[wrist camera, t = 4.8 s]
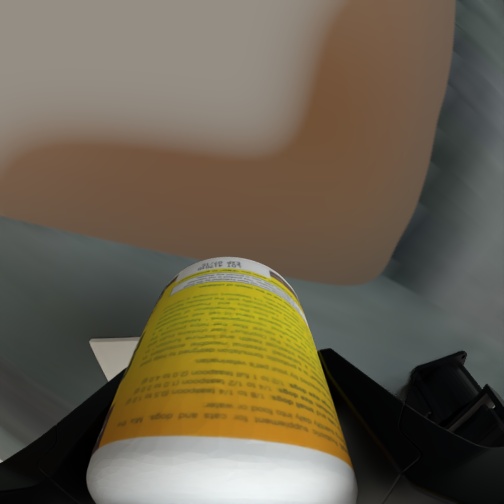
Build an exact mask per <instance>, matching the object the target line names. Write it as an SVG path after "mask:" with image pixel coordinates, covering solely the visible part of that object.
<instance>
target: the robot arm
mask: <svg viewBox="0 0 504 504" xmlns="http://www.w3.org/2000/svg"><path fill="white" fill-rule="evenodd" d="M317 353H318V356H319V359H320V362H321V366H322V369H323V372H324V375H325V378H326V381H327V385H328V388H329V391H330V394H331V397H332V400H333V403H334V407H335V410H336V413H337V416H338V420H339V423H340V426H341V429H342V432H343V436H344V439H345V442H346V445H347V448H348V452H349V455H350V458H351V462H352V465H353V468H354V471H355V476H356V480H357V485H358V496H357V502H356V503H357V504H504V401H503V399H502V398H501V397H500V396H499V395H498V393H496V392H495V391H494V390H493V389H492V388H491V387H490V386H489V385H488V384H486V385H485V386H484V387H483V389H481V387H480V386H479V385H478V383H477V382H476V381H475V380H474V378H473V377H472V376H471V374H470V373H469V372H468V371H467V370H466V368H465V367H464V366H463V365H464V362H465V359H466V356H467V353H466V352H465V351H462V352H459V353H456V354H454V355H451V356H448V357H446V358H443V359H440V360H437V361H434V362H431V363H428V364H425V365H422V366H419V367H418V368H417V369H416V370H415V373H414V376H413V380H412V383H411V387H410V389H409V393H408V396H407V399H406V402H405V405H404V402H402V401H401V400H399V399H398V398H397V397H395V396H394V395H393V394H391V393H390V392H389V391H387V390H386V389H384V388H383V387H382V386H380V385H379V384H378V383H376V382H375V381H374V380H372V379H371V378H370V377H368V376H367V375H366V374H364V373H363V372H362V371H360V370H359V369H358V368H356V367H355V366H354V365H352V364H351V363H350V362H348V361H347V360H346V359H344V358H343V357H342V356H340V355H339V354H338V353H336V352H335V351H334V350H333V349H331V348H327V349H321V350H318V352H317ZM126 369H127V367H126V368H125V369H123V370H122V371H121V372H120V373H118V374H117V375H116V376H115V377H114V378H112V379H111V380H110V381H109V382H107V383H106V384H105V385H104V386H103V387H101V388H100V389H99V390H98V391H97V392H95V393H94V394H93V395H92V396H90V397H89V398H88V399H87V400H86V401H84V402H83V403H82V404H81V405H79V406H78V407H77V408H76V409H74V410H73V411H72V412H71V413H70V414H68V415H67V416H66V417H65V418H63V419H62V420H61V421H60V422H58V423H57V426H56V425H55V426H53V427H52V428H51V429H50V430H49V431H47V432H46V433H45V434H43V435H42V436H41V437H39V438H38V439H37V440H35V441H34V442H32V443H31V444H30V445H28V446H27V447H25V448H24V449H22V450H20V451H19V452H17V453H16V454H14V455H13V456H11V457H10V458H8V459H6V460H5V461H3V462H1V463H0V504H96V503H95V501H94V500H93V498H92V496H91V494H90V492H89V490H88V486H87V481H86V476H87V469H88V466H89V463H90V459H91V455H92V451H93V448H94V446H95V444H96V442H97V440H98V437H99V435H100V432H101V430H102V427H103V425H104V421H105V418H106V416H107V414H108V412H109V410H110V407H111V405H112V402H113V400H114V398H115V395H116V393H117V390H118V387H119V385H120V383H121V380H122V378H123V376H124V373H125V371H126ZM494 405H495V407H494V408H492V407H493V406H494Z"/></svg>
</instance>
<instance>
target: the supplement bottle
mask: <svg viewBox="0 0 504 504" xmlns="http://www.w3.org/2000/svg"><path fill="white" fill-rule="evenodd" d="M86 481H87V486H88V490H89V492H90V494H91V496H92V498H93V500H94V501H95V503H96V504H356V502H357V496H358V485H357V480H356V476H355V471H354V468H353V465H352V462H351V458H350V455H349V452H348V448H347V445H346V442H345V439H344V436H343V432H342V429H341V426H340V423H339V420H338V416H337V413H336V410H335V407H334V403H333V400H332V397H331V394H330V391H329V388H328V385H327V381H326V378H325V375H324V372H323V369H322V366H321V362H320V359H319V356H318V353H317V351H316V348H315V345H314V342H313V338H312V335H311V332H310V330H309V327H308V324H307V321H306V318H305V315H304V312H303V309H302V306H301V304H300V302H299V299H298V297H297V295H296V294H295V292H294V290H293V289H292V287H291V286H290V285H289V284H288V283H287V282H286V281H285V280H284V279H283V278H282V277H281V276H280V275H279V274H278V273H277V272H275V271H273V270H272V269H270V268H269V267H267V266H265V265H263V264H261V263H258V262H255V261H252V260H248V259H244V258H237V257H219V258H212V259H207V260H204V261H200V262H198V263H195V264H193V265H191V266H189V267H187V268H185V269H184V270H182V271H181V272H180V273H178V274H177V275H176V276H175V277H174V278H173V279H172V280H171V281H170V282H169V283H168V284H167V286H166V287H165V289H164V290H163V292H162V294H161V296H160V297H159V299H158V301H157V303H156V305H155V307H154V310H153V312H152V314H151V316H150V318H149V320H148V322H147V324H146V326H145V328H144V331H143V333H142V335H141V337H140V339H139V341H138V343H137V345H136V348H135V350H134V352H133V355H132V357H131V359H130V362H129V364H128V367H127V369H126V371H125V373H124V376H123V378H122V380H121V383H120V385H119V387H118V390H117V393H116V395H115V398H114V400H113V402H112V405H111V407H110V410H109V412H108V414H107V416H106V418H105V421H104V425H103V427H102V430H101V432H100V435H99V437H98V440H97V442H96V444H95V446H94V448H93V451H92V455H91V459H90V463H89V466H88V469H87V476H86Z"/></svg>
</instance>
